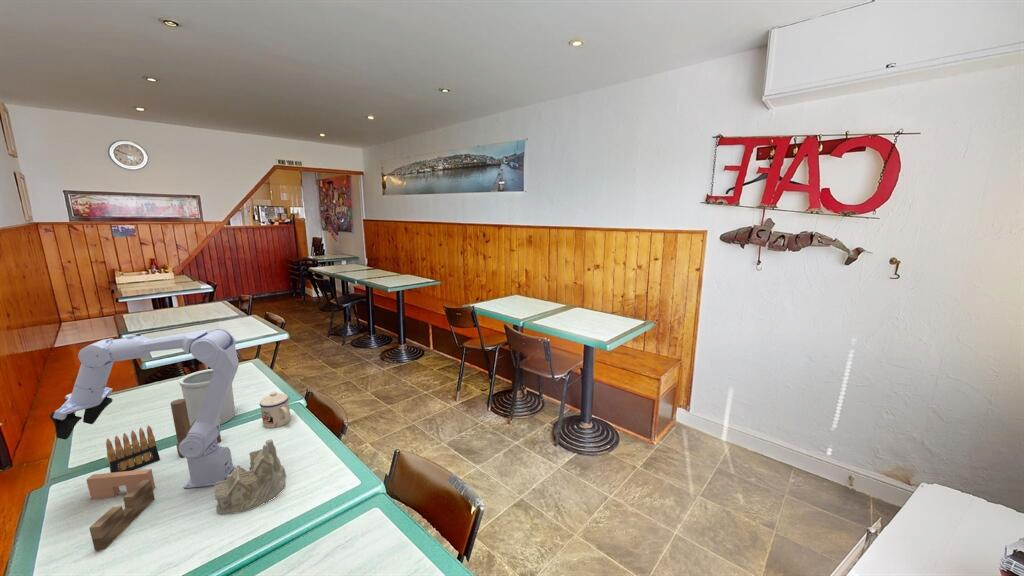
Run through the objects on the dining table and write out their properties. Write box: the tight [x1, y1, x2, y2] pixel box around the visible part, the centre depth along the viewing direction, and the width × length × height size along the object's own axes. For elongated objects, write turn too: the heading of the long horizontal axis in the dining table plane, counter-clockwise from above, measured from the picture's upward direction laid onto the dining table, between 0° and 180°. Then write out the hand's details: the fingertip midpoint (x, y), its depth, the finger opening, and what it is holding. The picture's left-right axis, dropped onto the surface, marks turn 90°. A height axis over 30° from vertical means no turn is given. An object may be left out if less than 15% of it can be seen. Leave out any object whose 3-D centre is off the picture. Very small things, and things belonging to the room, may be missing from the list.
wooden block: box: [170, 398, 222, 458], centre depth 126 cm, size 4×11×18 cm, turn 146°
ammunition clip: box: [105, 424, 161, 473], centre depth 117 cm, size 11×2×12 cm, turn 143°
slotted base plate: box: [89, 479, 156, 551], centre depth 97 cm, size 16×2×6 cm, turn 10°
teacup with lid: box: [259, 391, 291, 429], centre depth 141 cm, size 12×9×12 cm
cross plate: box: [86, 468, 156, 500], centre depth 107 cm, size 14×2×6 cm, turn 100°
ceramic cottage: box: [214, 438, 287, 515], centre depth 107 cm, size 16×16×15 cm
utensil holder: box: [179, 368, 236, 426], centre depth 144 cm, size 15×15×18 cm
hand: (75, 430), depth 103 cm, fingers open, 7 cm apart
